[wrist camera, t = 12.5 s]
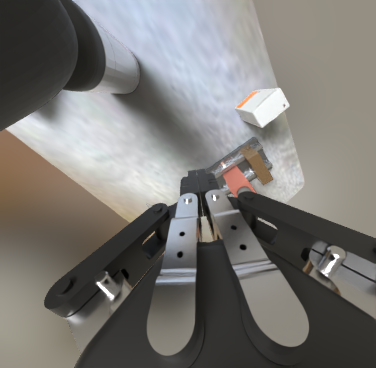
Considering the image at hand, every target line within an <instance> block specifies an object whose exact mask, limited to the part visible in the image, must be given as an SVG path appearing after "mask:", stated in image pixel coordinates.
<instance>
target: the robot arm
mask: <svg viewBox="0 0 376 368" xmlns="http://www.w3.org/2000/svg"><path fill="white" fill-rule="evenodd" d="M139 80H140V69H139V65H138V62H137V60H136V58H135V56H134V55H133V54H132V52H131V51H130V50H129V49H128V48H127V47H125V46H124V45H123V44H122V43H121V42H120V41H119V40H117V39H116V38H115V37H114V36H113V35H112V34H110V33H109V32H108V31H107V30H106V29H105V28H104V27H102V26H101V25H100V24H99V23H98V22H97V21H95V20H94V19H93V18H92V17H91V16H90V15H88V14H87V13H86V12H85V11H84V10H83V9H81V8H80V7H79V6H78V5H77V4H76V3H74V2H73V1H72V0H0V131H2V130H3V129H5V128H7V127H9V126H11V125H12V124H14V123H16V122H18V121H19V120H21V119H23V118H24V117H26V116H28V115H29V114H31V113H33V112H34V111H36V110H37V109H39V108H40V107H42V106H43V105H44V104H46V103H47V102H48V101H50V100H51V99H52V98H53V97H55V96H56V95H57V94H58V93H59V92H60V90H61V89H64V90H69V91H81V92H100V93H117V94H128V93H131V92H133V91H134V90H135V89H136V87H137V86H138V84H139ZM197 176H198V179H197ZM198 183H199V185H198ZM199 190H200V192H199ZM200 196H201V199H200ZM201 203H202V206H201ZM202 209H203V214H202ZM203 215H204V216H207V220H208V224H209V228H210V231H211V234H212V238H213V242H209V243H207V242H202V225H201V217H202V216H203ZM258 217H259V218H261V219H263V220H265V221H268V222H270V223H272V224H273V225H275V226H276V227H277V229H278V230H277V229H274V228H273V227H271V226H269V225H267V224H265V223H263V222H261V221H259V220H258ZM154 231H155V233H154V234H153V235H152V236H151V237H150V238H149V239H148V240H147V241H146V242H145V243H144V244H143V245H142V243H143V242H144V240H145V239H146V238H147V237H148V236H149V235H151V234H152V233H153V232H154ZM164 251H165V253H164V254H163V255H162V253H163V252H164ZM161 255H162V256H161ZM160 256H161V257H160ZM156 260H157V261H156ZM151 266H152V267H151ZM150 267H151V268H150ZM149 268H150V269H149ZM146 272H147V273H146ZM145 273H146V274H145ZM144 274H145V275H144ZM143 275H144V276H143ZM142 276H143V277H142ZM141 278H142V279H141ZM140 279H141V280H140ZM139 280H140V281H139ZM138 281H139V282H138ZM137 282H138V284H137V285H136V286H135V284H136V283H137ZM134 286H135V287H134ZM133 287H134V288H133ZM132 288H133V290H132ZM44 305H45V307H46V308H47V309H49V310H51V311H52V312H54V313H56V314H57V315H59V316H61V317H63V318H64V319H66V320H67V321H68V324H69V326H70V328H71V331H72V333H73V336H74V338H75V341H76V343H77V346H78V348H79V351H80V353H81V355H80V357H79V359H78V361H77V363H76V365H75V367H74V368H376V238H373V237H371V236H368V235H365V234H363V233H360V232H357V231H355V230H352V229H350V228H347V227H344V226H342V225H339V224H336V223H334V222H331V221H328V220H326V219H323V218H321V217H318V216H315V215H313V214H310V213H307V212H304V211H302V210H299V209H297V208H294V207H291V206H289V205H286V204H284V203H281V202H278V201H276V200H273V199H270V198H268V197H265V196H263V195H260V194H257V193H255V192H251V191H244V192H241V193H239V194H238V198H237V197H228V196H226V194H225V193H224V192H223V191H221V190H220V188H219V185H218V183H217V180H216V178H215V175H213V174H212V173H209V174H206V172H205V169H200V170H197V173H196V170H193V171H188V177H183V178H182V180H181V187H180V197H179V199H178V202H177V203H175V204H174V205H171V206H167V205H166V204H163V203H159V204H155V205H153V206H152V207H150V208H149V209H148V210H146V211H145V212H144V213H143V214H141V215H140V216H139V217H138V218H136V219H135V220H134V221H133V222H131V223H130V224H129V225H128V226H126V227H125V228H124V229H122V230H121V231H120V232H119V233H118V234H116V235H115V236H114V237H112V238H111V239H110V240H109V241H107V242H106V243H105V244H104V245H102V246H101V247H100V248H99V249H97V250H96V251H95V252H93V253H92V254H91V255H90V256H88V257H87V258H86V259H85V260H83V261H82V262H81V263H80V264H78V265H77V266H76V267H74V268H73V269H72V270H71V271H69V272H68V273H67V274H66V275H64V276H63V277H62V278H61V279H59V280H58V281H57V282H56V283H55V284H54V285H53V286H52V287H51V289H50V290H49V291H48V293H47V295H46V297H45V300H44Z"/></svg>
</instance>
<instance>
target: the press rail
mask: <svg viewBox="0 0 376 368" xmlns="http://www.w3.org/2000/svg"><path fill="white" fill-rule="evenodd" d="M262 148H263V147H262V145H261V144H260V143H258V141H257V139H256V138H255V137H253V138H251V139H250V140H248V141H247V142H245V143H244V144H243V145H241V146H240V147H238V148H237V149H235V150H234V151H233V152H231V153H230V154H228V155H227V156H225V157H224V158H223V159H221V160H220V161H218V162H217V163H215V164H214V165H213V166H211V167H210V168H208V169H207V170H206V171H205V172H206V174H209V173H212V174H213V175H215V178H216V180H217V183H218V185H219V188H220V190H221V191H223V192H224V193H225V194H226V195H228V194H229V193H231V191H230V189H229V187H228V185H227V183H226V181H225V179H224V177H223V175H222V174H224V173H225V172H227V171H228V170H230V169H231V168H233V167H234V166H237V167H238V168H239V170H240V171H241V172H242V174H243V175H244V176H245V177H246V179H247V180H248V181H251V180H253V179H254V178H256V177H257V178H258V180H259V181H260V182H261V183H262V184H263V185H264V184H266V183H268V182H270V181H271V180H273V178H272V176H271V174H270V172H269V171H268V170H269V169H271V168H272V167H271V166H272V164H271V163H270V162H269V161H268V159H267V157H266V156H265V154H264V152H263V150H262ZM197 179H198V176H197ZM198 185H199V183H198ZM199 192H200V190H199ZM200 199H201V196H200ZM201 206H202V203H201Z"/></svg>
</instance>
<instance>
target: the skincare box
mask: <svg viewBox="0 0 376 368" xmlns="http://www.w3.org/2000/svg"><path fill="white" fill-rule="evenodd" d="M289 106H290V105H289V103H288V101H287V100H286V98H285V96H284V94H283V92H282V90H281V88H274V89H263V90H254V91H253V92H252V93H251V94H250V95H249V96H247V97H246V98H245V99H244V100H243V101H242V102H241V103H240V104H239V105H238V106H237V107H235V110H236V111H237V112H238V114H239V115H240V117H241V118H242V120H243V121H246V122H248V123H251V124H253V125H256V126H258V127H260V128H263V127H264V126H266V125H267V124H268V123H269V122H271V121H272V120H273V119H275V118H276V117H277V116H278V115H279V114H281V113H282V112H283V111H284V110H285V109H287V108H288V107H289Z"/></svg>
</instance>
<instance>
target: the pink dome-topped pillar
mask: <svg viewBox="0 0 376 368" xmlns="http://www.w3.org/2000/svg"><path fill="white" fill-rule="evenodd" d="M222 175H223V177H224V179H225V181H226V183H227V185H228V187H229V189H230V191H231V192H232V194H233V195H234V196H235V197H237V198H238V194H239V193H241V192H244V191H251V192H255V190H254V189H253V187H252V186H251V184H250V183H249V181H248V180H247V179H246V177H245V176H244V175H243V174H242V172H241V171H240V170H239V168H238V167H237V166H234V167H233V168H231V169H230V170H228V171H227V172H225V173H224V174H222ZM255 193H256V192H255Z"/></svg>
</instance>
